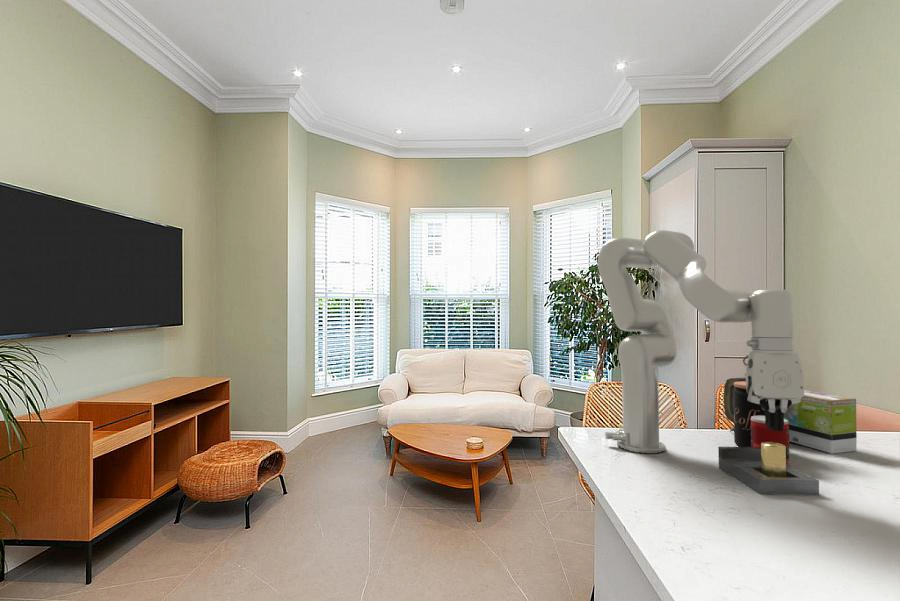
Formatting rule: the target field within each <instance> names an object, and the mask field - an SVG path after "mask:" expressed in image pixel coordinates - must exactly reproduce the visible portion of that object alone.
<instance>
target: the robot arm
mask: <svg viewBox="0 0 900 601" xmlns="http://www.w3.org/2000/svg"><path fill="white" fill-rule="evenodd" d="M657 267H659V268H661V269H662V270H663V271H664V272H666V274H667V275H668V276H670V277H671V278H672V279H673V280H674V281H675V282H677V284H678V286H679V289H680V291H681V293H682V295H683V297H684V298H685V300H686V301H687V302H688V303H689V304H690V305H692V307H694V309H696V310H697V311H698V312H699V313H700V314H702V315H703V316H704V317H705V318H708V319H709V320H710V321H712V322H715V323H737V324H738V323H739V324H740V323H750V322H751V323H750V324H751V338H750V340H749V339H748V340H747V341H746V346H747V347H751V350H752V351H751V350H750V351H749V352H748V355H749V356H748V355H747V356H748V358H747V361H746V362H747V363H746V364H747V366H746V371H745V374H746V376H745V377H746V390H747V393H748V399H747V400H748V401H749V402H752V403H756V404H759V405H760V406H761V407H762V409H763V410H765V424H766V427H767V429H770V430H772V431H783V426H784V413H785V412H786V411H787V408H788V407H789V406H790V405H791V404H796V403H799V402H801V399H800V398H802V397H803V396H804V390H805V381H804V380H805V379H804V372H803V367H802V363H801V359H800V356H799V353H798V352H796V351H794V324H793V323H794V322H793V318H794V317H793V297H792V292H790V291H789V290H788V289H787V290H786V289H781V288H780V289H779V288H778V289H777V288H776V289H775V288H773V289H772V288H771V289H770V288H769V289H759V290H758V289H757V290H755V291H749V290H735V289H734V290H733V289H724V288H723V287H721V286H720V285H719V284H718V283H716V282H715V281H714V280H712V279H711V278H710V277H709V276H708V275H707V274H706V273H705V270H706V268H707V260H706V259H705V257H703V256H702V255H701V254H700V253H698V252H697V251H695V244H694V241H693V240H692V238H691V237H690V236H689V235H687V234H686V233H684V232H679V231H673V230H664V229H660V230H659V229H658V230H655V231H653V232H650V233H649V234H648V235H647V236H646V237H645V238H644V239H637V238H631V237H615V238H611V239H609V240H607V241H606V242H605V243H604V244H603V245H602V246H601V248H600V251H599V253H598V257H597V270H598V272H599V277H600V279H601V281H602V283H603V285H604V289H605V292H606V294H607V298H608V302H609V306H610V309H611V313H612V315H613V316H612V317H613V320H614V323H615V325H616V327H617V328H618V329H620V330H621V331H624V332H640V334H633V335H629V336H626V337H625V338H624V339H622V340H621V341H620V343H619V346H618V351H617V352H618V353H617V354H618V355H617V356H618V359H619V360H618V361H619V365H620V372H621V391H622V392H621V393H622V394H621V395H622V398H621V399H622V428H619V430H617V431H616V432H612V431H606V432H605V433H604V434H605V435H604V437H605V439H606V440H612V441H616V445H617V446H618V447H619V446H620V447H621V448H620V447H619V448H620V449H622V448H624V449H623V450H625V449H626V450H625V451H628V450H629V452H633V451H634V452H633V453H639V452H641V453H640V454H657V453H658V452H659V453H663V452H665V450H666V444H664V443H663V442H661V441H660V409H659V408H660V407H659V406H660V405H659V404H660V403H659V402H660V401H659V381H658V377H657V375H656V372H655V369H654V368H663V367H666V366H669V365H671V364H672V363H673V362H674V361H675V360H676V357H677V345H676V341H675V338H674V335H673V332H672V328H671V324H670V323H669V322H670V321H669V319H668V316H667V314H666V311H665V310H664V308H663V306H662V305H661V304H660V303H659V302H657V301H656V300H653V299H648V298H647V299H646V298H642V297H641V296H640V293H639V291H638V287H637V284H636V282H635V280H634V278H633V276H631V274H630V273H629V272H628V270H627V268H632V269H633V268H634V269H635V268H636V269H652V268H657ZM757 396H758V397H760V398H758V397H757ZM662 451H663V452H662ZM659 453H658V454H659Z"/></svg>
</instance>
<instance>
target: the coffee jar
mask: <svg viewBox="0 0 900 601" xmlns="http://www.w3.org/2000/svg"><path fill="white" fill-rule="evenodd" d="M734 386H735V388H736V390H735V391H734V422H733V428H734V433H733V435H734V438H733V439H734V441H733V442H734V444H735V445H736V447H737V446H738V447H751V417H752V416H765V410H763V409H762V407H761V406H760V405H759V404H756V403H752V402H749V401H748V400H747V399H748V393H747V390H746V381H741V382H734ZM757 397H758V396H757ZM758 398H760V397H758Z"/></svg>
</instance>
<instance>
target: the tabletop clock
mask: <svg viewBox="0 0 900 601" xmlns="http://www.w3.org/2000/svg"><path fill="white" fill-rule="evenodd" d="M748 356H749V354H747V355H746V356H744V357H743V358H742V363H743V364H744V366H745V367H747V363H746V362H745V361H746V359H748ZM741 381H746V373H745V374H744V376H743V377H731V378H729V379H726V380H725V383H724V389H723V410H724V414H725V417H726V418H727V420H728V421H730V422H731V423H734V391H735V390H736V388H735V386H734V382H741ZM729 430H730V432H731V431H734V427H731V428H730V429H729Z"/></svg>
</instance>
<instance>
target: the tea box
mask: <svg viewBox="0 0 900 601" xmlns="http://www.w3.org/2000/svg"><path fill="white" fill-rule="evenodd" d="M800 399H801V402H799V403H796V404H791V405H790V406H789V407H788V408H787V411H786V412H785V413H784V419H786V420H788V423H789V443H790V442H791V443H795V444H798V445H801V446H804V447H808V448H812V449H815V450H817V451H821V452H824V453H828V454H830V455H833V454H842V453H850V452H855V451H857V442H858V441H857V438H858V437H857V398H855V397H847V396H844V395H843V396H841V395H835V394H831V393H826V392H825V393H824V392H818V391H813V390H812V391H811V390H809V389H808V390H806V389H804V396H803V397H802V398H800Z"/></svg>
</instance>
